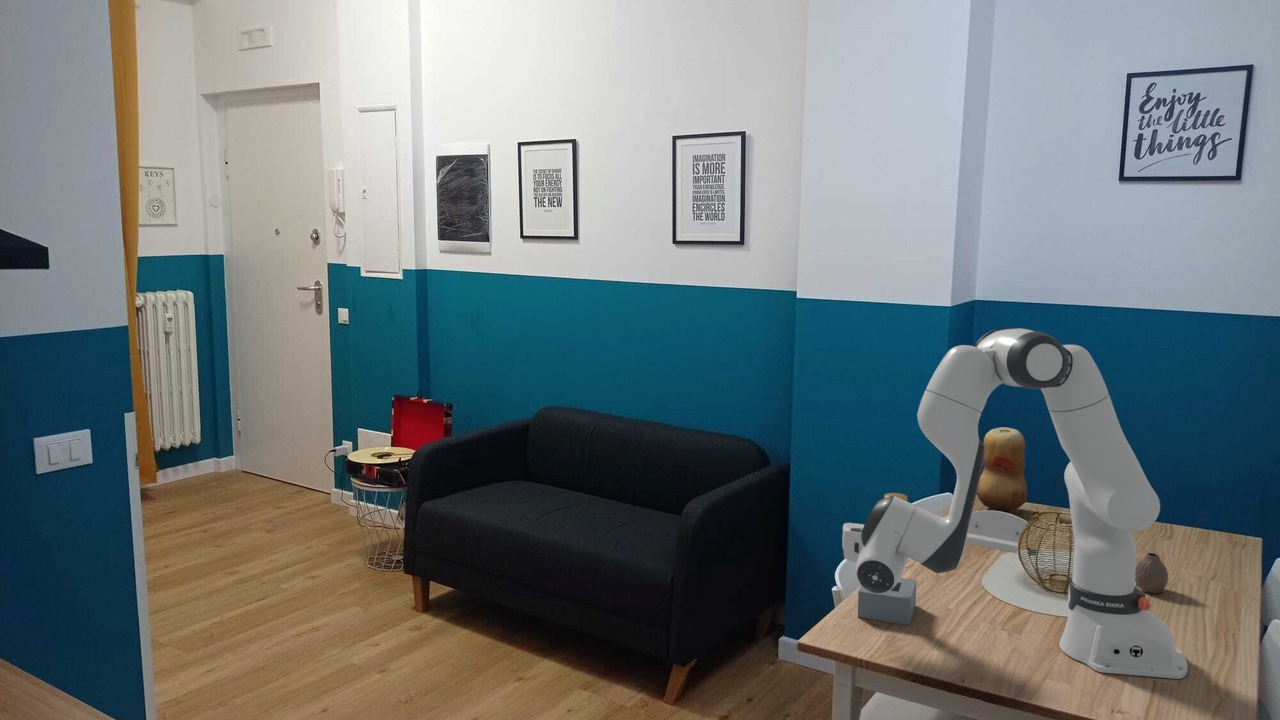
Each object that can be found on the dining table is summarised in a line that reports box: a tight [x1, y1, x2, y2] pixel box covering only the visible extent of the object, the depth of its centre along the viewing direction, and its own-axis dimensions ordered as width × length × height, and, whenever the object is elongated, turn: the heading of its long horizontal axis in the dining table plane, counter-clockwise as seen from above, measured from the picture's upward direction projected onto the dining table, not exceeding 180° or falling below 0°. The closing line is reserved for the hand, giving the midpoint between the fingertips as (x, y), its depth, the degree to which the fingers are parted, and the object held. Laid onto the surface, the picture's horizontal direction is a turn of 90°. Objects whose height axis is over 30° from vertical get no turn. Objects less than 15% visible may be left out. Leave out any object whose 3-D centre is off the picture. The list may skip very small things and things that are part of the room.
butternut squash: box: [976, 426, 1028, 513], centre depth 269 cm, size 14×13×25 cm
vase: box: [1135, 552, 1169, 595], centre depth 212 cm, size 7×7×9 cm
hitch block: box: [857, 577, 917, 626], centre depth 203 cm, size 11×11×6 cm
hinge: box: [967, 509, 1028, 554], centre depth 243 cm, size 17×5×10 cm, turn 54°
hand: (895, 528), depth 199 cm, fingers closed on lynch pin, 3 cm apart
